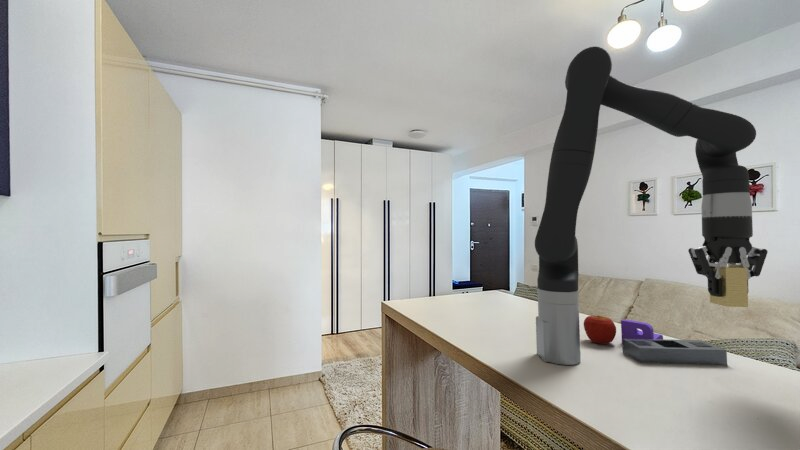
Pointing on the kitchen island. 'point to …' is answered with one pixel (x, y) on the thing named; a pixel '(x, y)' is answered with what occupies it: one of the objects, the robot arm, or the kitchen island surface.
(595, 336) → the apple
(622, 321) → the bracket
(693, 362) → the grey base plate
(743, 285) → the tan block
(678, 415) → the kitchen island surface
